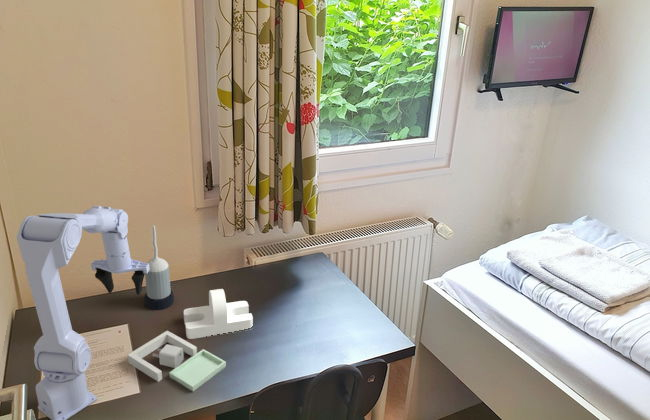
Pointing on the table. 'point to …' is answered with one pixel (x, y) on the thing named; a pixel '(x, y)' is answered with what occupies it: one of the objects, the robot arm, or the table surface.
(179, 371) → the tray
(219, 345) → the table surface
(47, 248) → the robot arm
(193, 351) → the bay
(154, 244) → the humidifier
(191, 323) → the u-slot stand
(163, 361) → the usb wall charger
